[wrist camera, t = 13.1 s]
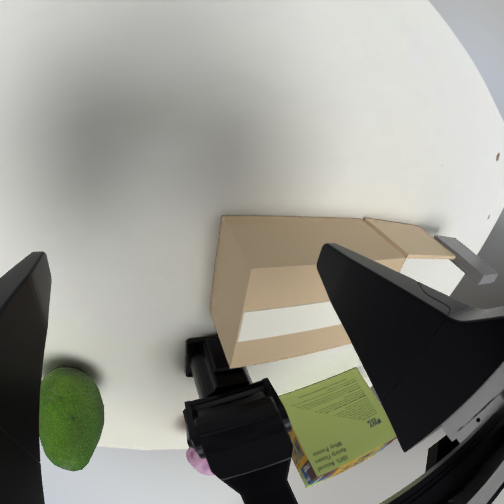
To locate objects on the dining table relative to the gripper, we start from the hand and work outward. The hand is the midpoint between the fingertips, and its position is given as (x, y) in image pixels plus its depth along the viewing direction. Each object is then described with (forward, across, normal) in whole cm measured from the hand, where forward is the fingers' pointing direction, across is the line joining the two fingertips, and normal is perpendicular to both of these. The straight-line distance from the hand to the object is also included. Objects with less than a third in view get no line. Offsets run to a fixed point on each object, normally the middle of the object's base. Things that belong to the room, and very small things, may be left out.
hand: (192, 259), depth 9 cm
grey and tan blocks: (+13, -27, +5) cm, 30 cm away
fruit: (+13, +11, +24) cm, 30 cm away
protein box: (+13, -26, +40) cm, 49 cm away
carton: (+13, -12, +10) cm, 20 cm away
